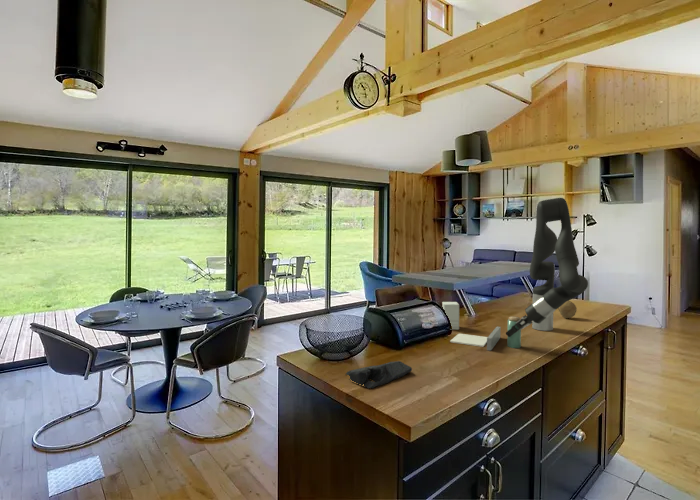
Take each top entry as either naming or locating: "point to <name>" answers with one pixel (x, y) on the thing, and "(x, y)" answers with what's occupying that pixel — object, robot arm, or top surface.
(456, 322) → the supplement box
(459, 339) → the rubber mat
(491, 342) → the low wall
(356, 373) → the dark slate chunk
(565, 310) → the natural sponge
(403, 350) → the top surface
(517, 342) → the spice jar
